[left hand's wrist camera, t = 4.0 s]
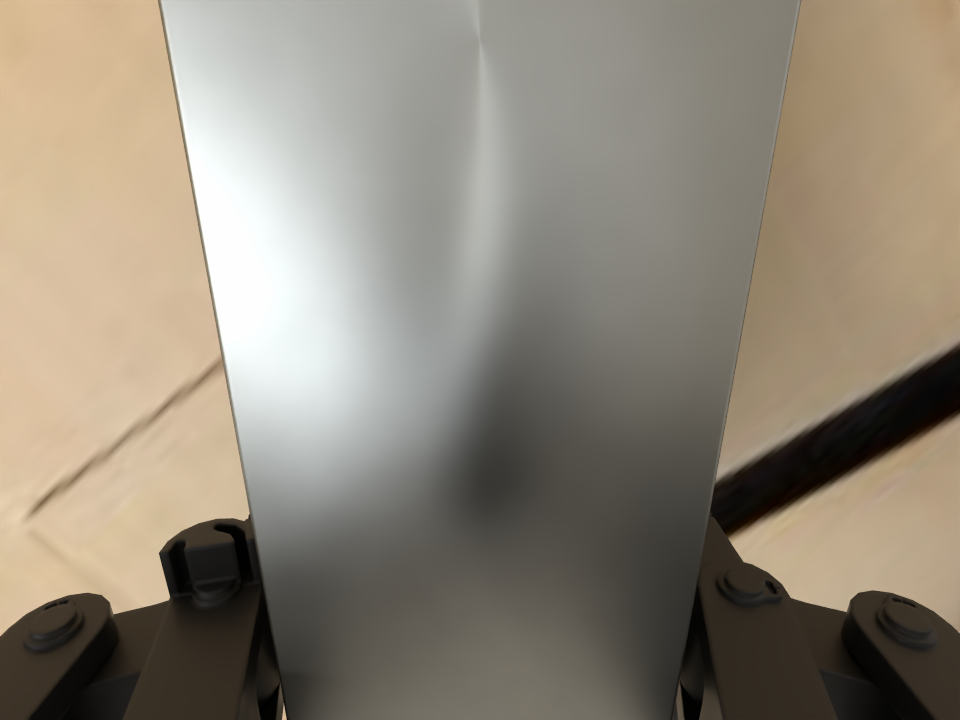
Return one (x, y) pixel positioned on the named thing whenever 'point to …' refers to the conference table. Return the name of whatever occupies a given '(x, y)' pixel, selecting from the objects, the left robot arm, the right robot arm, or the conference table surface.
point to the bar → (479, 329)
